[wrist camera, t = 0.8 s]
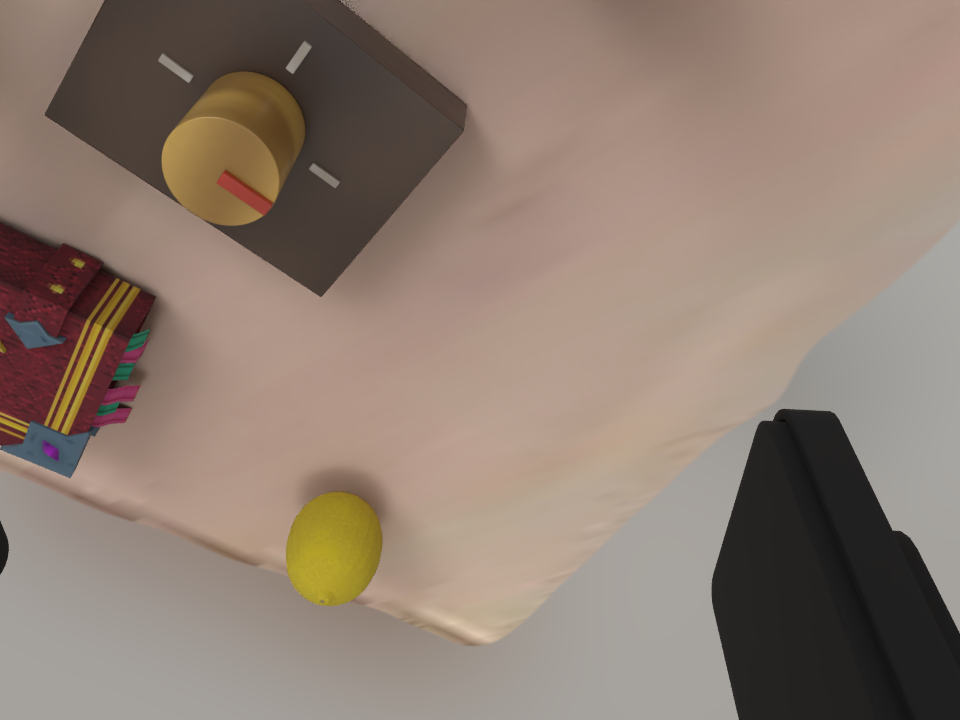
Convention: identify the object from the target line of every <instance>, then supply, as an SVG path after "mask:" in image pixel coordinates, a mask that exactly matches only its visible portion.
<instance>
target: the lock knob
mask: <svg viewBox="0 0 960 720" xmlns="http://www.w3.org/2000/svg"><path fill="white" fill-rule="evenodd" d="M304 139H305V123H304V118H303V114H302V112H301V109H300V107H299V105H298V104H297V102H296V100H295V99H294V98H293V96H292V95H291V94H290V93H289V92H288V91H287V89H285V88H284V87H283V86H282V85H281V84H279V83H278V82H276V81H275V80H273V79H271V78H269V77H267V76H264V75H262V74H258V73H254V72H234V73H230V74H227V75H224V76H222V77H220V78H219V79H217V80H216V81H214V82H213V83H212V84H211V85H210V86H209V88H208V89H207V90H206V91H205V92H204V94H203V95H202V96H201V97H200V98H199V100H198V101H197V102H196V103H195V104H194V106H193V107H192V108H191V109H190V110H189V112H188V113H187V114H186V115H185V117H184V118H183V119H182V120H181V121H180V123H179V124H178V125H177V126H176V127H175V129H174V130H173V131H172V132H171V134H170V135H169V136H168V138H167V140H166V142H165V144H164V147H163V151H162V170H163V174H164V178H165V180H166V183H167V185H168V187H169V189H170V191H171V192H172V194H173V195H174V196H175V198H176V199H177V200H178V201H179V202H180V203H181V204H182V205H183V206H184V207H185V208H186V209H187V210H189V211H190V212H191V213H193V214H194V215H196V216H198V217H200V218H202V219H204V220H206V221H209V222H212V223H215V224H220V225H227V226H237V225H244V224H248V223H251V222H253V221H256V220H258V219H259V218H261V217H262V216H265V215H266V214H267V212H268V211H269V210H270V209H271V208H272V206H273V205H274V203H275V201H276V199H277V197H278V195H279V193H280V191H281V189H282V187H283V185H284V183H285V181H286V179H287V177H288V175H289V173H290V171H291V169H292V167H293V165H294V163H295V161H296V159H297V157H298V155H299V153H300V151H301V148H302V146H303V143H304Z"/></svg>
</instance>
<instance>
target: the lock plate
mask: <svg viewBox="0 0 960 720" xmlns="http://www.w3.org/2000/svg"><path fill="white" fill-rule="evenodd" d="M234 72H254V73H258V74H262V75H264V76H267V77H269V78H271V79H273V80H275V81H276V82H278V83H279V84H281V85H282V86H283V87H284V88H285V89H287V91H288V92H289V93H290V94H291V95H292V96H293V98H294V99H295V100H296V102H297V104H298V105H299V107H300V109H301V112H302V114H303V118H304V123H305V139H304V143H303V146H302V148H301V151H300V153H299V155H298V157H297V159H296V161H295V163H294V165H293V167H292V169H291V171H290V173H289V175H288V177H287V179H286V181H285V183H284V185H283V187H282V189H281V191H280V193H279V195H278V197H277V199H276V201H275V203H274V205H273V206H272V208H271V209H270V210H269V211H268V212H267V214H266V215H265V216H262V217H261V218H259V219H258V220H256V221H253V222H251V223H248V224H244V225H237V226H227V225H220V224H215V223H212V222H209V221H206V220H205V221H206V222H208V223H209V224H211V225H212V226H214V227H215V228H217V229H218V230H220V231H221V232H223V233H224V234H226V235H227V236H229V237H230V238H232V239H233V240H235V241H236V242H238V243H240V244H241V245H243V246H244V247H246V248H247V249H249V250H250V251H252V252H253V253H255V254H256V255H258V256H259V257H261V258H262V259H264V260H265V261H267V262H268V263H270V264H271V265H273V266H274V267H276V268H278V269H279V270H281V271H282V272H284V273H285V274H287V275H288V276H290V277H291V278H293V279H294V280H296V281H297V282H299V283H300V284H302V285H303V286H305V287H306V288H308V289H309V290H311V291H312V292H314V293H316V294H317V295H319V296H320V297H322V296H323V295H324V293H325V292H326V291H327V290H328V289H329V288H330V286H331V285H332V284H333V283H334V282H335V281H336V279H337V278H338V277H339V276H340V275H341V274H342V272H343V271H344V270H345V269H346V268H347V267H348V265H349V264H350V263H351V262H352V261H353V260H354V258H355V257H356V256H357V255H358V254H359V253H360V251H361V250H362V249H363V248H364V247H365V246H366V244H367V243H368V242H369V241H370V240H371V239H372V237H373V236H374V235H375V234H376V233H377V232H378V230H379V229H380V228H381V227H382V226H383V225H384V223H385V222H386V221H387V220H388V219H389V218H390V216H391V215H392V214H393V213H394V212H395V211H396V209H397V208H398V207H399V206H400V205H401V204H402V202H403V201H404V200H405V199H406V198H407V197H408V195H409V194H410V193H411V192H412V191H413V190H414V188H415V187H416V186H417V185H418V184H419V183H420V181H421V180H422V179H423V178H424V177H425V176H426V174H427V173H428V172H429V171H430V170H431V169H432V167H433V166H434V165H435V164H436V163H437V162H438V160H439V159H440V158H441V157H442V156H443V155H444V153H445V152H446V151H447V150H448V149H449V148H450V146H451V145H452V144H453V143H454V142H455V141H456V139H457V138H458V137H459V136H460V135H461V134H462V132H463V131H464V125H465V117H466V108H467V105H466V104H465V103H464V102H463V101H461V100H460V99H459V98H458V97H457V96H455V95H454V94H453V93H452V92H450V91H449V90H448V89H447V88H446V87H444V86H443V85H442V84H441V83H439V82H438V81H437V80H436V79H434V78H433V77H432V76H431V75H430V74H428V73H427V72H426V71H425V70H423V69H422V68H421V67H420V66H419V65H417V64H416V63H415V62H414V61H412V60H411V59H410V58H409V57H408V56H406V55H405V54H404V53H403V52H401V51H400V50H399V49H398V48H396V47H395V46H394V45H393V44H392V43H390V42H389V41H388V40H387V39H385V38H384V37H383V36H382V35H381V34H379V33H378V32H377V31H376V30H374V29H373V28H372V27H371V26H370V25H368V24H367V23H366V22H365V21H363V20H362V19H361V18H360V17H359V16H357V15H356V14H355V13H354V12H352V11H351V10H350V9H349V8H347V7H346V6H345V5H344V4H343V3H341V2H340V1H339V0H105V1H104V3H103V5H102V7H101V9H100V10H99V12H98V14H97V16H96V18H95V20H94V22H93V24H92V26H91V27H90V29H89V31H88V33H87V35H86V37H85V39H84V41H83V43H82V44H81V46H80V48H79V50H78V52H77V54H76V56H75V58H74V60H73V61H72V63H71V65H70V67H69V69H68V71H67V73H66V75H65V77H64V78H63V80H62V82H61V84H60V86H59V88H58V90H57V92H56V94H55V95H54V97H53V99H52V101H51V103H50V105H49V107H48V109H47V111H46V112H45V116H47V117H48V118H50V119H51V120H53V121H54V122H56V123H57V124H59V125H60V126H62V127H63V128H65V129H66V130H68V131H69V132H71V133H72V134H74V135H75V136H77V137H78V138H80V139H81V140H83V141H84V142H86V143H88V144H89V145H91V146H92V147H94V148H95V149H97V150H98V151H100V152H101V153H103V154H104V155H106V156H107V157H109V158H110V159H112V160H113V161H115V162H116V163H118V164H119V165H121V166H122V167H124V168H126V169H127V170H129V171H130V172H132V173H133V174H135V175H136V176H138V177H139V178H141V179H142V180H144V181H145V182H147V183H148V184H150V185H151V186H153V187H154V188H156V189H157V190H159V191H160V192H162V193H164V194H165V195H167V196H168V197H170V198H171V199H173V200H174V201H176V202H177V203H179V204H180V205H182V204H181V203H180V202H179V201H178V200H177V199H176V198H175V196H174V195H173V194H172V192H171V191H170V189H169V187H168V185H167V183H166V180H165V178H164V174H163V170H162V151H163V147H164V144H165V142H166V140H167V138H168V136H169V135H170V134H171V132H172V131H173V130H174V129H175V127H176V126H177V125H178V124H179V123H180V121H181V120H182V119H183V118H184V117H185V115H186V114H187V113H188V112H189V110H190V109H191V108H192V107H193V106H194V104H195V103H196V102H197V101H198V100H199V98H200V97H201V96H202V95H203V94H204V92H205V91H206V90H207V89H208V88H209V86H210V85H211V84H212V83H213V82H214V81H216V80H217V79H219V78H220V77H222V76H224V75H227V74H230V73H234ZM182 206H183V205H182ZM183 207H184V206H183ZM203 220H204V219H203Z"/></svg>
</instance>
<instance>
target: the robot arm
mask: <svg viewBox="0 0 960 720" xmlns="http://www.w3.org/2000/svg"><path fill="white" fill-rule="evenodd" d="M8 551H9V544H8V539H7V536H6V534H5V532H4V529H3V526H2V524H1V522H0V574H1V573H2V571H3V569H4V567H5V564H6V561H7V558H8ZM712 603H713V609H714V613H715V617H716V622H717V626H718V631H719V635H720V639H721V643H722V648H723V652H724V657H725V661H726V666H727V670H728V674H729V679H730V682H731V687H732V691H733V696H734V700H735V705H736V709H737V713H738V717H739V720H960V633H959V631H958V629H957V627H956V625H955V623H954V621H953V619H952V617H951V615H950V613H949V611H948V610H947V607H946V605H945V603H944V601H943V599H942V597H941V595H940V593H939V591H938V589H937V587H936V585H935V583H934V581H933V579H932V577H931V575H930V573H929V571H928V569H927V567H926V565H925V563H924V561H923V559H922V558H921V555H920V553H919V551H918V549H917V548H916V546H915V545H914V543H913V542H912V540H911V539H910V538H909V537H908V536H907V535H905V534H904V533H903V532H901V531H892V528H891V527H890V524H889V522H888V520H887V518H886V516H885V514H884V512H883V510H882V508H881V506H880V504H879V502H878V499H877V498H876V495H875V493H874V491H873V489H872V487H871V485H870V483H869V481H868V479H867V477H866V475H865V472H864V470H863V468H862V466H861V464H860V462H859V460H858V458H857V456H856V454H855V452H854V450H853V448H852V446H851V444H850V441H849V439H848V437H847V435H846V433H845V431H844V429H843V427H842V425H841V423H840V421H839V419H838V418H837V416H836V415H835V414H834V413H832V412H830V411H814V410H813V411H812V410H794V409H792V410H791V409H782V410H779V411H778V412H777V413H776V415H775V417H774V419H773V421H762V422H760V424H759V425H758V428H757V430H756V433H755V436H754V440H753V443H752V446H751V450H750V453H749V456H748V460H747V463H746V467H745V470H744V473H743V477H742V480H741V483H740V487H739V490H738V493H737V497H736V500H735V503H734V507H733V510H732V513H731V517H730V520H729V523H728V527H727V530H726V534H725V537H724V540H723V544H722V547H721V550H720V554H719V557H718V560H717V564H716V567H715V570H714V574H713V579H712Z"/></svg>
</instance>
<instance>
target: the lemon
mask: <svg viewBox="0 0 960 720" xmlns="http://www.w3.org/2000/svg"><path fill="white" fill-rule="evenodd" d="M381 550H382V531H381V526H380V522H379V519H378V517H377V515H376V514H375V512H374V510H373V509H372V507H371V506H370V505H369V504H368V503H367V502H366V501H364V500H363V499H361V498H360V497H358V496H356V495H353V494H351V493H346V492H331V493H325V494H323V495H320V496H318V497H316V498H314V499H313V500H312V501H310V502H309V503H308V504H306V505H305V506H304V507H303V509H302V510H301V511H300V513H299V514H298V515H297V517H296V518H295V520H294V522H293V524H292V527H291V530H290V533H289V537H288V541H287V547H286V562H287V571H288V575H289V578H290V580H291V582H292V584H293V586H294V588H295V589H296V590H297V591H298V592H299V593H300V594H301V595H302V596H303V597H304V598H306V599H307V600H309V601H311V602H313V603H315V604H319V605H325V606H335V605H340V604H343V603H346V602H349V601H351V600H353V599H354V598H356V597H357V596H358V595H359V594H361V593H362V592H363V591H364V590H365V589H366V587H367V586H368V584H369V583H370V581H371V579H372V578H373V576H374V574H375V572H376V570H377V567H378V564H379V561H380V556H381Z"/></svg>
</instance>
